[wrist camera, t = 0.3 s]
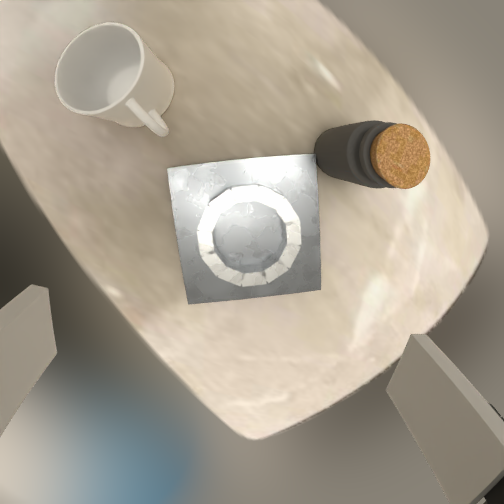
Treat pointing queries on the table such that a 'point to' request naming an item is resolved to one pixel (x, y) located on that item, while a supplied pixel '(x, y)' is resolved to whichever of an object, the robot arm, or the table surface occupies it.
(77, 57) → the mug
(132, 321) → the table surface
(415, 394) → the robot arm
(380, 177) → the bottle
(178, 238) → the collar plate
